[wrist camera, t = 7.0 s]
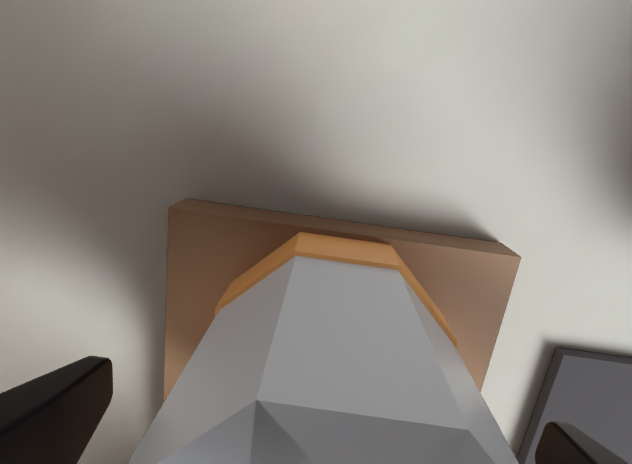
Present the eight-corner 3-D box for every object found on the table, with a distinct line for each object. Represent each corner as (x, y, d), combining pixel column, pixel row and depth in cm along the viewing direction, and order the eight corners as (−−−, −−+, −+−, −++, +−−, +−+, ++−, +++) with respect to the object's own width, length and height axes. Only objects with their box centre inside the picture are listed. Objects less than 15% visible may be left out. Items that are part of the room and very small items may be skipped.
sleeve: (410, 431, 11) (491, 754, 6) (221, 404, 11) (108, 698, 6) (454, 253, 10) (631, 444, 4) (236, 222, 10) (96, 369, 4)
